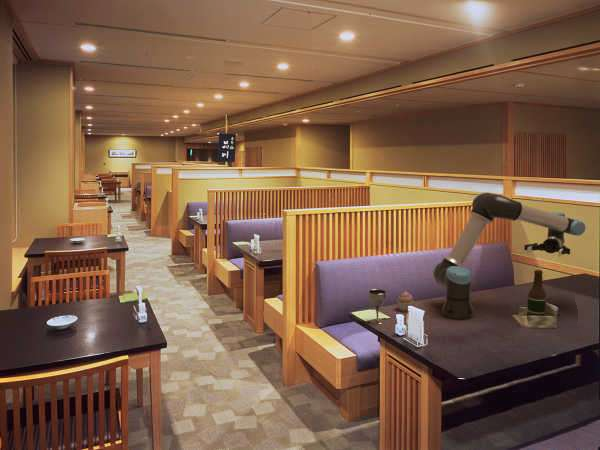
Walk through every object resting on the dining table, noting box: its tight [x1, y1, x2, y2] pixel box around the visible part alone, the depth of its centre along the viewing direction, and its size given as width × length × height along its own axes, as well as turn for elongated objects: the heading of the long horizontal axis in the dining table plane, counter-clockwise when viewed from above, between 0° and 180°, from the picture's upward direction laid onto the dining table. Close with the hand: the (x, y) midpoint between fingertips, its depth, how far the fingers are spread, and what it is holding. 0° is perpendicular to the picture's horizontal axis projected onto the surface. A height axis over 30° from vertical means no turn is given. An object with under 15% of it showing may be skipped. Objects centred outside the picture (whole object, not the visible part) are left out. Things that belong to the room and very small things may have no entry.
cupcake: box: [396, 290, 416, 313], centre depth 245 cm, size 9×9×10 cm
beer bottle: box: [527, 269, 547, 319], centre depth 221 cm, size 8×8×24 cm
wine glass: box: [368, 288, 387, 325], centre depth 229 cm, size 8×8×15 cm
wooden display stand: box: [512, 301, 558, 329], centre depth 223 cm, size 15×14×8 cm
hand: (543, 252), depth 226 cm, fingers open, 13 cm apart
